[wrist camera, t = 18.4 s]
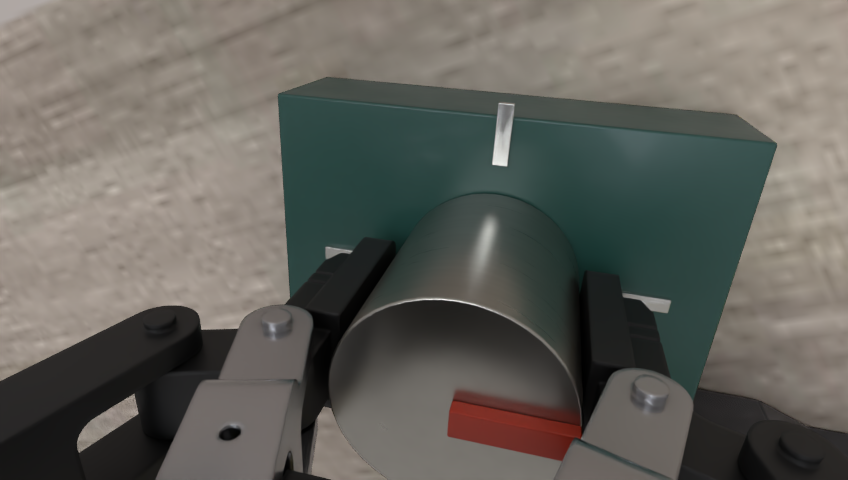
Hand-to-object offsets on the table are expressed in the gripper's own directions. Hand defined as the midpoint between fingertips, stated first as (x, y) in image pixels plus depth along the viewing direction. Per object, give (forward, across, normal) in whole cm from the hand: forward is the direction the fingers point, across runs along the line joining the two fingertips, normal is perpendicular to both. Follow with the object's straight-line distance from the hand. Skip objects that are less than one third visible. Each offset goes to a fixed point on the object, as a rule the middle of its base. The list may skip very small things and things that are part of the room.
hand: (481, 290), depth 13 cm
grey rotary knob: (+1, 0, 0) cm, 1 cm away
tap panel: (+4, 0, 0) cm, 4 cm away
